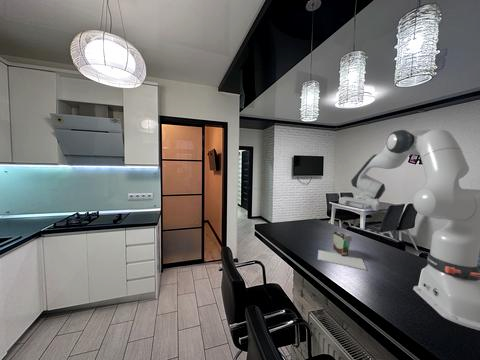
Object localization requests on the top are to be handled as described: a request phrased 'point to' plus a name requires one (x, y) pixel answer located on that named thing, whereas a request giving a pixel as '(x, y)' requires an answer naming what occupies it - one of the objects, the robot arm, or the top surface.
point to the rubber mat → (341, 260)
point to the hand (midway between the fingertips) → (354, 205)
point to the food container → (341, 242)
